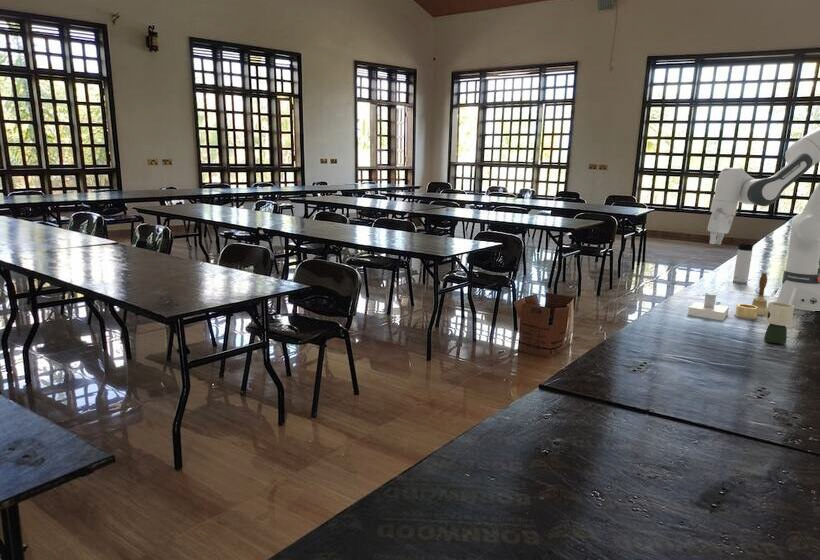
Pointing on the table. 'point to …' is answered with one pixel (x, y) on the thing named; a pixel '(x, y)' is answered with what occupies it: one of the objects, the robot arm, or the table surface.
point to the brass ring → (746, 311)
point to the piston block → (708, 308)
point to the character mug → (778, 321)
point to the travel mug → (742, 263)
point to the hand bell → (761, 296)
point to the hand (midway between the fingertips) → (715, 244)
